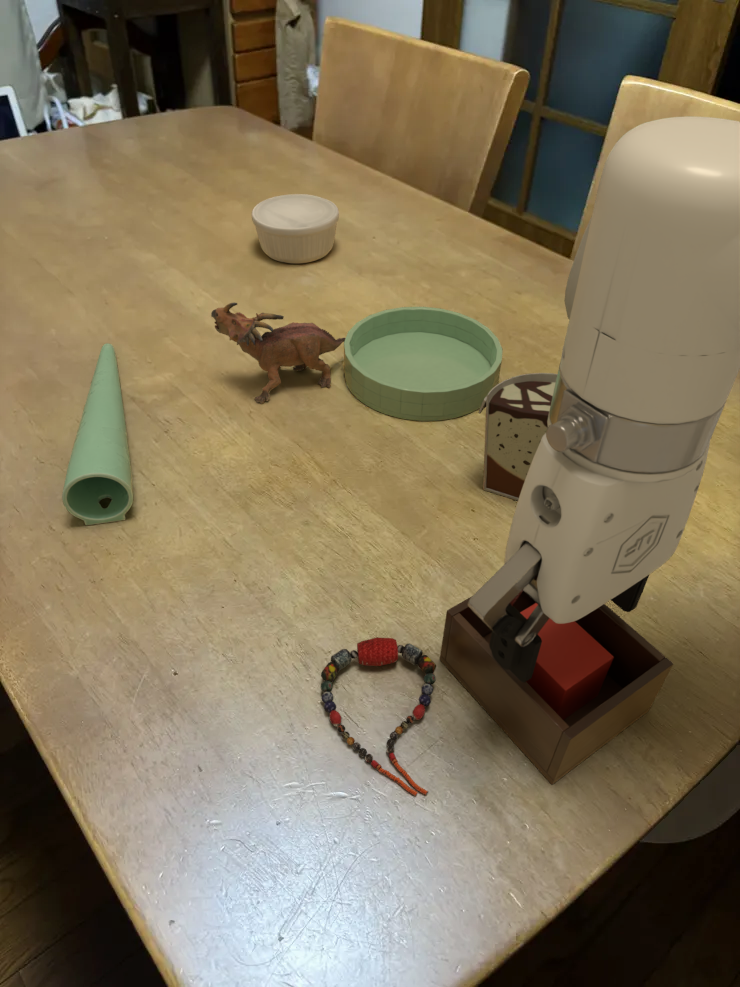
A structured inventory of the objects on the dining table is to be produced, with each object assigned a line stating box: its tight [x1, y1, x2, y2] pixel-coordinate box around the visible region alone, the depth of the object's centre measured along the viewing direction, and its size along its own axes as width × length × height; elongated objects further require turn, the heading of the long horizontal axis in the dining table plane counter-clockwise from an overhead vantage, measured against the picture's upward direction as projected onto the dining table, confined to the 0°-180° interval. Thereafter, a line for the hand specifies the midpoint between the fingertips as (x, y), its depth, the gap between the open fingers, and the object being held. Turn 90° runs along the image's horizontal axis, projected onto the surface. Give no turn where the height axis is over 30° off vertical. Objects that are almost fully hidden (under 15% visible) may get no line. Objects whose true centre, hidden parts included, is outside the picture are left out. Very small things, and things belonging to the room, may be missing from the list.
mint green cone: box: [61, 342, 134, 526], centre depth 70 cm, size 5×6×27 cm
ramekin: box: [251, 193, 340, 264], centre depth 99 cm, size 11×11×5 cm
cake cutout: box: [478, 372, 558, 502], centre depth 64 cm, size 12×6×10 cm, turn 65°
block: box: [520, 603, 614, 720], centre depth 50 cm, size 6×4×4 cm
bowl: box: [343, 306, 504, 422], centre depth 78 cm, size 16×16×4 cm
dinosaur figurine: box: [210, 302, 346, 404], centre depth 75 cm, size 14×6×9 cm, turn 110°
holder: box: [439, 575, 674, 785], centre depth 50 cm, size 11×9×6 cm
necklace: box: [320, 637, 437, 796], centre depth 49 cm, size 8×11×2 cm
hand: (563, 628), depth 48 cm, fingers open, 8 cm apart
